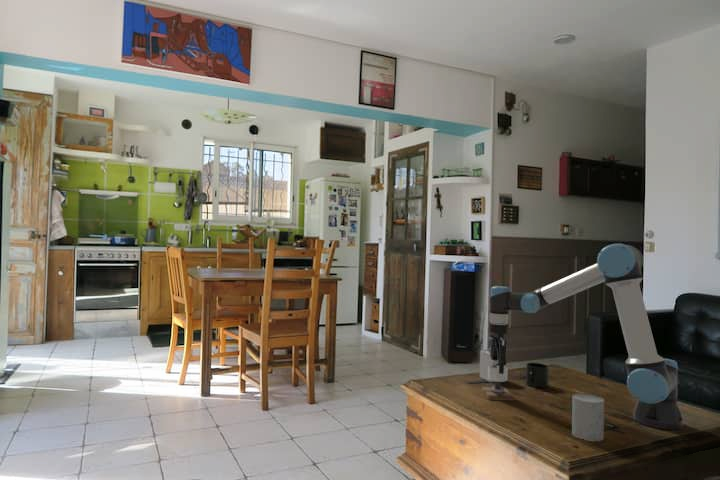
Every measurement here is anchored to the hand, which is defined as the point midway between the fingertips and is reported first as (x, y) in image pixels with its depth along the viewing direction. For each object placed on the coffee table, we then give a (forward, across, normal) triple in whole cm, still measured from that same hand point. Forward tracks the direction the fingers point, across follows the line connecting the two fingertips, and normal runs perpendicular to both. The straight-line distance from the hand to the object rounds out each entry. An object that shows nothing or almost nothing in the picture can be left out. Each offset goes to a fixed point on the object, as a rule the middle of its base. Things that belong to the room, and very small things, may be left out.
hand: (497, 378), depth 194 cm
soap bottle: (+7, +26, -5) cm, 27 cm away
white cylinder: (+7, -41, -18) cm, 45 cm away
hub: (0, 0, 0) cm, 0 cm away
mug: (+7, +17, -22) cm, 29 cm away
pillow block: (+7, 0, 0) cm, 7 cm away
